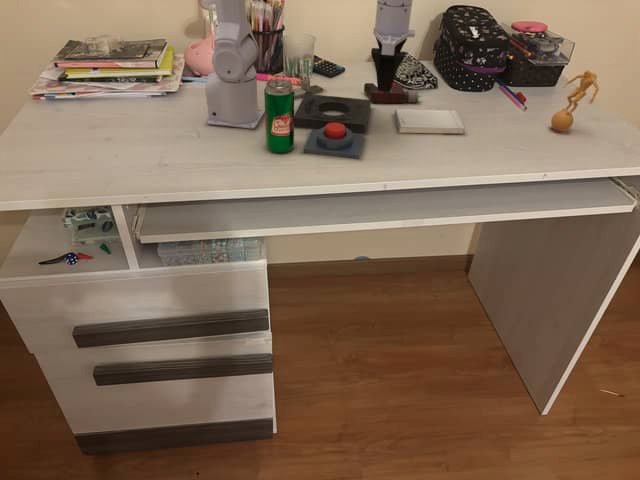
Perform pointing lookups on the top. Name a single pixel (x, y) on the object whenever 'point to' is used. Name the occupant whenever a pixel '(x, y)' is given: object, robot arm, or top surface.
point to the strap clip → (305, 88)
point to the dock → (315, 104)
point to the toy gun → (390, 94)
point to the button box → (334, 144)
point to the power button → (335, 130)
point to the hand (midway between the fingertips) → (385, 82)
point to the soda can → (279, 115)
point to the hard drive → (428, 121)
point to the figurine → (574, 101)
